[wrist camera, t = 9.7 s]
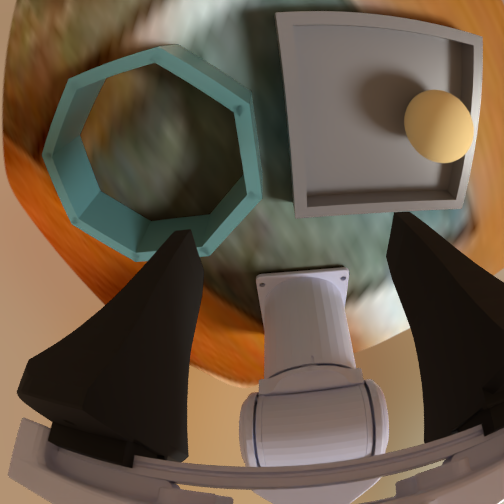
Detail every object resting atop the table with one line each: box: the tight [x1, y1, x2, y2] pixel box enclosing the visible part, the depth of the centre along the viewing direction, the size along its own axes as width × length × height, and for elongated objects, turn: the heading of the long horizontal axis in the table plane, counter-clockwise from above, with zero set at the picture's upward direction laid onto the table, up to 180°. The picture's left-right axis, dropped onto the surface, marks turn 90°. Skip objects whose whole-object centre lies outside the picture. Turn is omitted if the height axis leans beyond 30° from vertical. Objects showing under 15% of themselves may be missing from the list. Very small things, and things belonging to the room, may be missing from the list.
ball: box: [404, 90, 474, 163], centre depth 14 cm, size 4×4×4 cm
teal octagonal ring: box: [42, 44, 262, 262], centre depth 17 cm, size 13×13×4 cm
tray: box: [274, 11, 483, 218], centre depth 16 cm, size 13×13×2 cm
